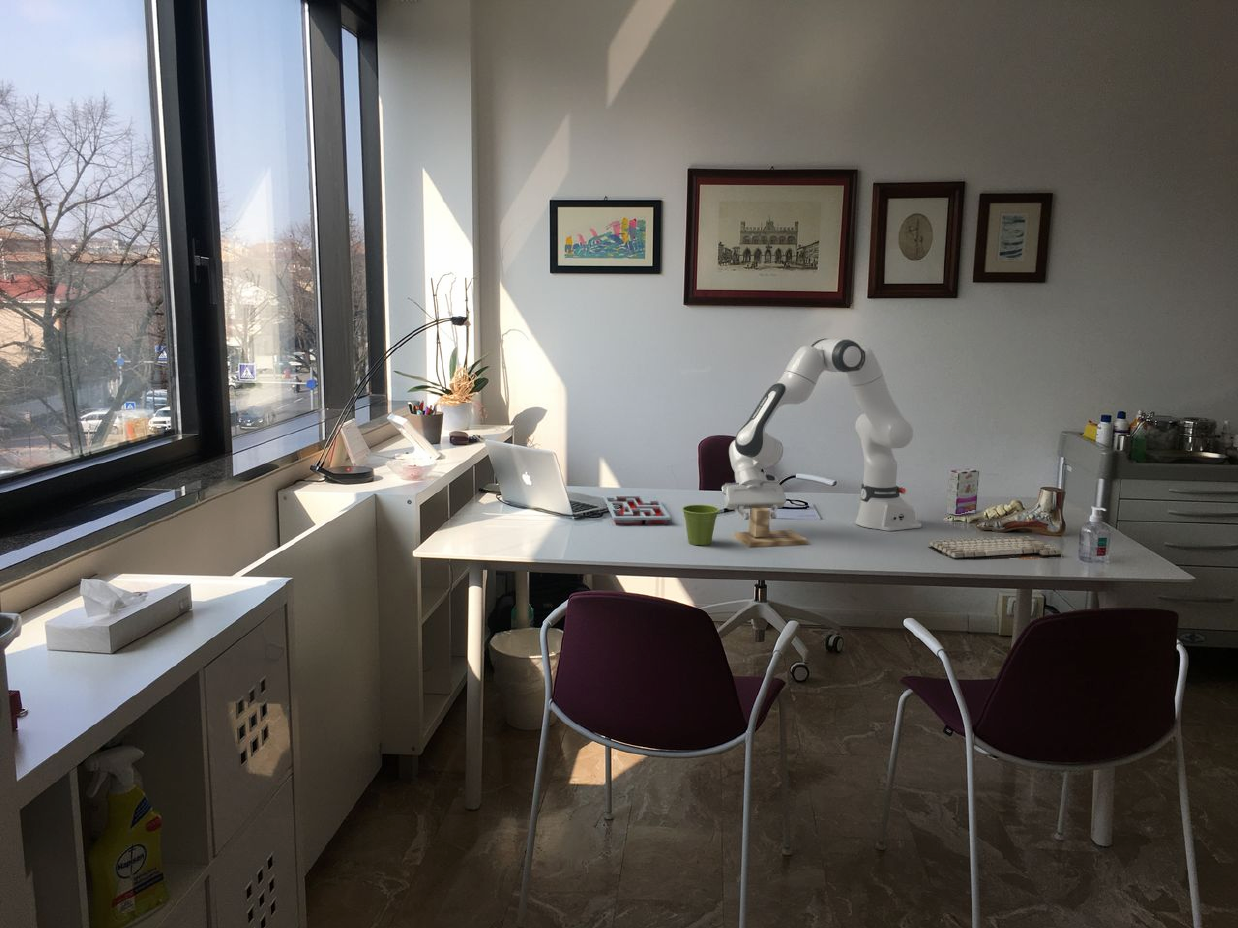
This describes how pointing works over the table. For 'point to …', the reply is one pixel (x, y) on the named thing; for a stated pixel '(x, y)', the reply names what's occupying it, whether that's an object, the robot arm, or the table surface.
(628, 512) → the maze game
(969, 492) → the candy bar box
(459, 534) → the table surface
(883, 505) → the robot arm
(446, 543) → the table surface
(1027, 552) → the mechanical keyboard
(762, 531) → the block
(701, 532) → the plant pot
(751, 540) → the board
